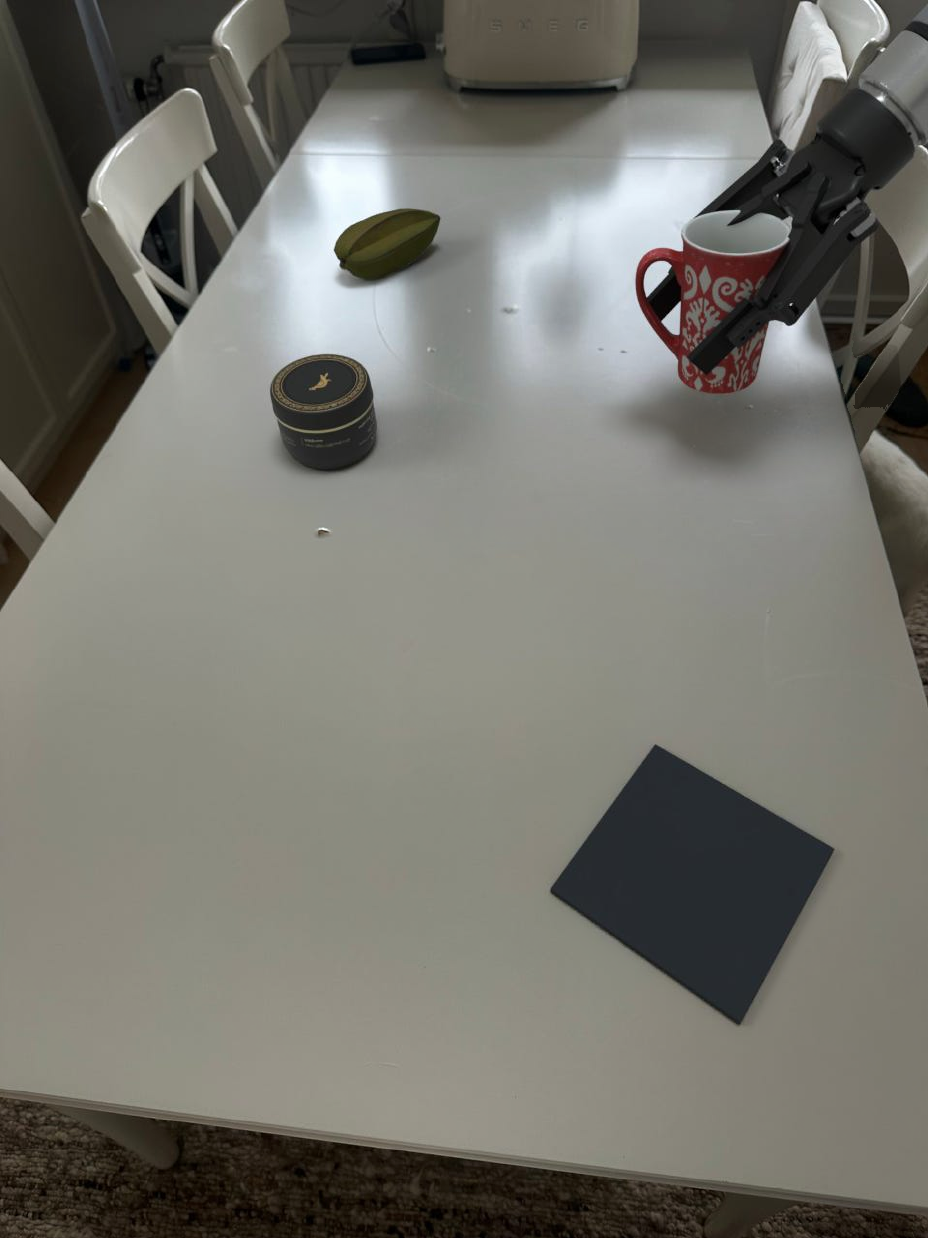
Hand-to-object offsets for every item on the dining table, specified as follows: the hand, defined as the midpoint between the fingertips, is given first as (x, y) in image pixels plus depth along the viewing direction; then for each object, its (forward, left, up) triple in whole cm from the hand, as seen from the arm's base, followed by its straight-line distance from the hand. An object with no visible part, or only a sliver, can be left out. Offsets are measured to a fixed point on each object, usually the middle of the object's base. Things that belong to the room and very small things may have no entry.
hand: (673, 338), depth 78 cm
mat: (-25, +38, -12) cm, 47 cm away
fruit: (+45, -11, -12) cm, 48 cm away
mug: (-2, -3, -5) cm, 6 cm away
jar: (+27, +19, -12) cm, 36 cm away
